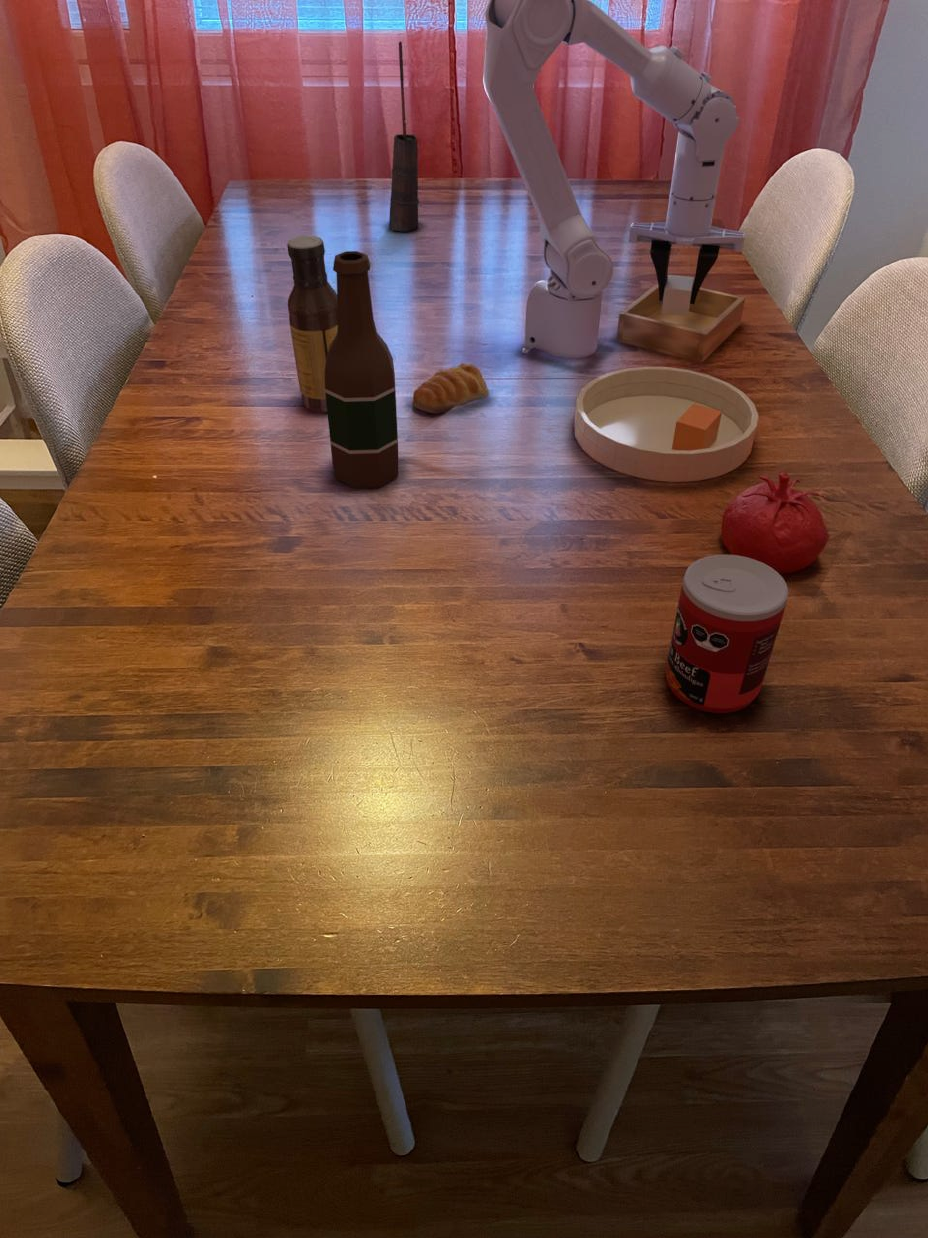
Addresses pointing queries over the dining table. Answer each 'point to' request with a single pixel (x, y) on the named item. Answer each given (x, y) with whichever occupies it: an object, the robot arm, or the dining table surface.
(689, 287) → the beige wooden cube
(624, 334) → the holder
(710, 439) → the orange wooden cube
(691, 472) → the bowl
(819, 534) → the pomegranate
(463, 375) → the pastry
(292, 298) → the sauce bottle
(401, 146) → the butter churn
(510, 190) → the dining table surface
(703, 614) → the canned food
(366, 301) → the beer bottle
